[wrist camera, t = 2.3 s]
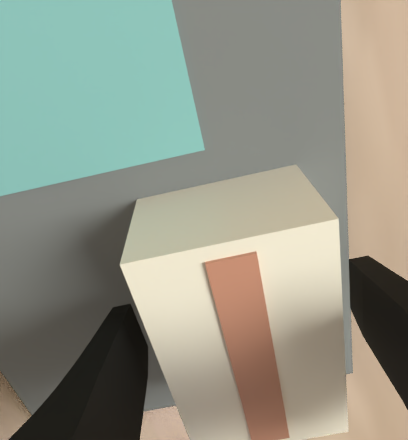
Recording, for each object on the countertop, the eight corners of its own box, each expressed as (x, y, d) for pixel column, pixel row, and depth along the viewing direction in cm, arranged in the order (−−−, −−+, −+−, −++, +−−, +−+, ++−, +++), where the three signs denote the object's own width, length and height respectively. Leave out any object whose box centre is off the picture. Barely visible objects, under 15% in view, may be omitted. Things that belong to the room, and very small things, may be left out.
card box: (314, 347, 15) (349, 434, 12) (194, 370, 15) (197, 461, 12) (295, 164, 11) (340, 220, 8) (136, 199, 11) (119, 267, 8)
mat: (347, 361, 16) (353, 374, 16) (46, 417, 17) (41, 432, 17) (316, -360, 7) (329, -398, 6) (-348, -158, 8) (-394, -174, 7)
